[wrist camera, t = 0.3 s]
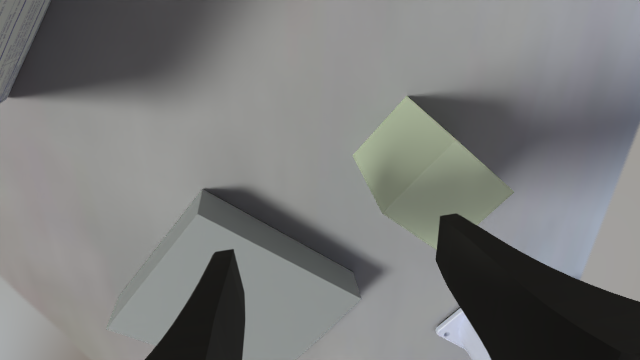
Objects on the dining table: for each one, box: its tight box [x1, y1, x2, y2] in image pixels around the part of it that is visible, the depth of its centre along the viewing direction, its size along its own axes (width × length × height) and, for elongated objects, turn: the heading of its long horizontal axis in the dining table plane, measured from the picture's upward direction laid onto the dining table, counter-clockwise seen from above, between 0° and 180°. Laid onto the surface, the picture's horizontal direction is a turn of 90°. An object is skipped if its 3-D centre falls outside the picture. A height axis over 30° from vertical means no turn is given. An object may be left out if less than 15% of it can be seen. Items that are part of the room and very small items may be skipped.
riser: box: [106, 189, 362, 360], centre depth 25 cm, size 12×10×2 cm
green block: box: [353, 96, 514, 250], centre depth 20 cm, size 4×4×6 cm
